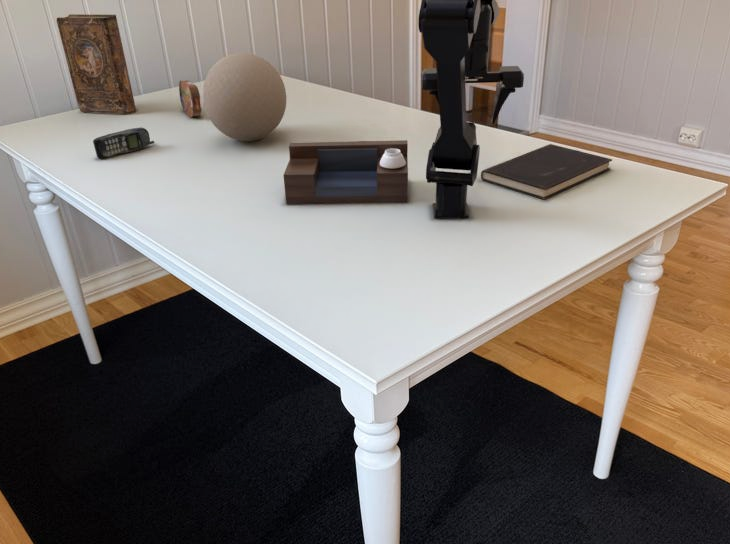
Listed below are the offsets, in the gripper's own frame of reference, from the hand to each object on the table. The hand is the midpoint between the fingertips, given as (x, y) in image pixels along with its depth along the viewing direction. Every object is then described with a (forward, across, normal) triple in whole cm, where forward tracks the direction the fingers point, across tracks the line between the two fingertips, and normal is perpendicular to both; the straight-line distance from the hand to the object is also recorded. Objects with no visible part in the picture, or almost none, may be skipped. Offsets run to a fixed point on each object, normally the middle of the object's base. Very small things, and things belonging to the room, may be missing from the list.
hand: (468, 124), depth 134 cm
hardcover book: (+12, -17, -4) cm, 21 cm away
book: (+12, +98, -63) cm, 117 cm away
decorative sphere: (+12, +51, -33) cm, 62 cm away
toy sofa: (+12, +24, +4) cm, 27 cm away
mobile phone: (+12, +80, -25) cm, 85 cm away
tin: (+12, +72, -58) cm, 93 cm away
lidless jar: (+6, +15, +6) cm, 17 cm away
